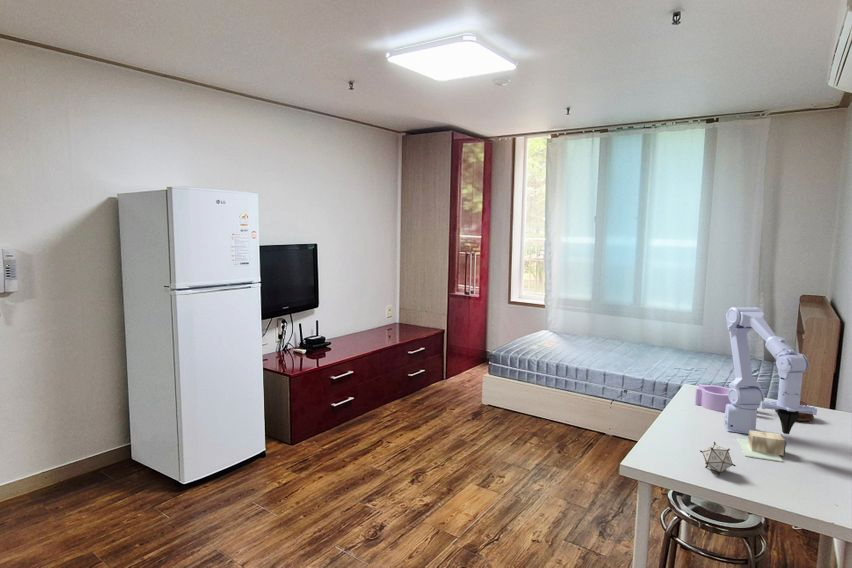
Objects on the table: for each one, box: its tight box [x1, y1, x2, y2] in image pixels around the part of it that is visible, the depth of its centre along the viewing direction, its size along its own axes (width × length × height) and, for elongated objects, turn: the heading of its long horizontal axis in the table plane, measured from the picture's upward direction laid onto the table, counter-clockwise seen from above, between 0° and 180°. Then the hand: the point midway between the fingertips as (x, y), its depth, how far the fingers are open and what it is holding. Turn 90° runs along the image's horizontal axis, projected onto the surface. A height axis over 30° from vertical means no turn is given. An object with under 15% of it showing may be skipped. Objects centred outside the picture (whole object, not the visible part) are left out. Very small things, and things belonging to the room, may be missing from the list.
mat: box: [735, 437, 784, 463], centre depth 162 cm, size 10×14×1 cm
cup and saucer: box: [774, 400, 815, 422], centre depth 190 cm, size 12×12×6 cm
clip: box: [694, 383, 731, 413], centre depth 200 cm, size 20×12×7 cm, turn 51°
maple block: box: [747, 430, 787, 457], centre depth 161 cm, size 5×5×9 cm
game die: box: [699, 441, 737, 476], centre depth 148 cm, size 9×8×10 cm
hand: (785, 432), depth 159 cm, fingers closed
